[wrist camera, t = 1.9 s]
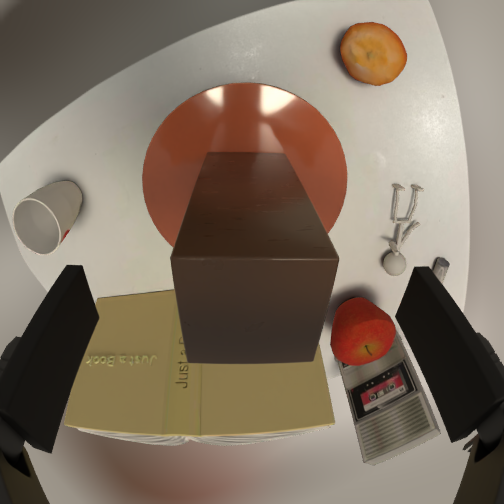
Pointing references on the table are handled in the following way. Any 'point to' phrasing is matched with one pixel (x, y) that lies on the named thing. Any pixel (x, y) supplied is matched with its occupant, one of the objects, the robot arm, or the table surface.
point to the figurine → (400, 236)
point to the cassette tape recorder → (388, 405)
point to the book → (185, 385)
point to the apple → (361, 332)
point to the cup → (47, 216)
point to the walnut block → (251, 264)
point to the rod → (441, 269)
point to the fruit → (373, 53)
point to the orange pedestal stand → (241, 148)
